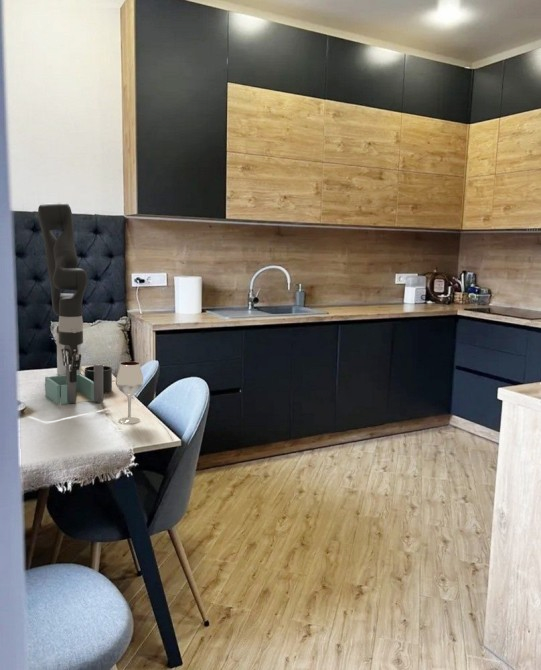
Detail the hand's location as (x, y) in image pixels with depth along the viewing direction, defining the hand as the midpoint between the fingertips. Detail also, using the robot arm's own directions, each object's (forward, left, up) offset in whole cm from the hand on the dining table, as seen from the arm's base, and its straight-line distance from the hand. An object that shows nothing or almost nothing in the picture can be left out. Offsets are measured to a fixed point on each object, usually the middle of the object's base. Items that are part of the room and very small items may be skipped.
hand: (71, 380), depth 184 cm
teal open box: (-7, +1, -8) cm, 11 cm away
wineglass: (+26, +9, -8) cm, 29 cm away
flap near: (0, -1, -7) cm, 7 cm away
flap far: (+3, +8, -7) cm, 11 cm away
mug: (-13, +13, -8) cm, 20 cm away
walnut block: (-8, +1, -8) cm, 11 cm away
